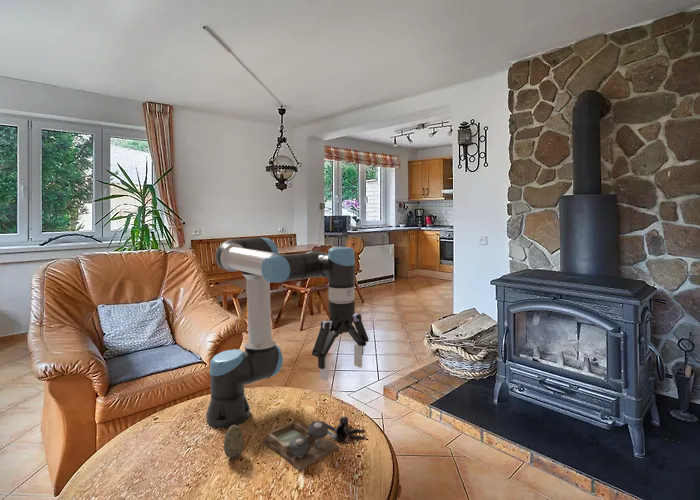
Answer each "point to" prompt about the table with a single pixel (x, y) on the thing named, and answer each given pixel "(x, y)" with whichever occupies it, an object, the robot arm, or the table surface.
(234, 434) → the decorative egg
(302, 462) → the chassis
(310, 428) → the wheel
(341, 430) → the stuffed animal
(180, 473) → the table surface
